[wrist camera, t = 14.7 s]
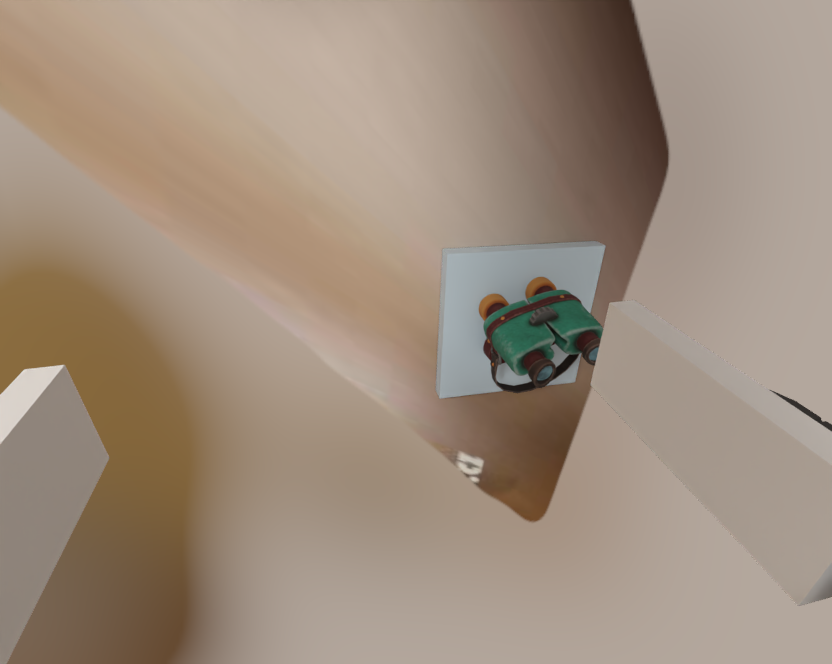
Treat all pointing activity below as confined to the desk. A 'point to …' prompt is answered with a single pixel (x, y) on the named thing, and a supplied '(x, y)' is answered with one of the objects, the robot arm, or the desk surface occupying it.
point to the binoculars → (537, 333)
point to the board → (507, 276)
